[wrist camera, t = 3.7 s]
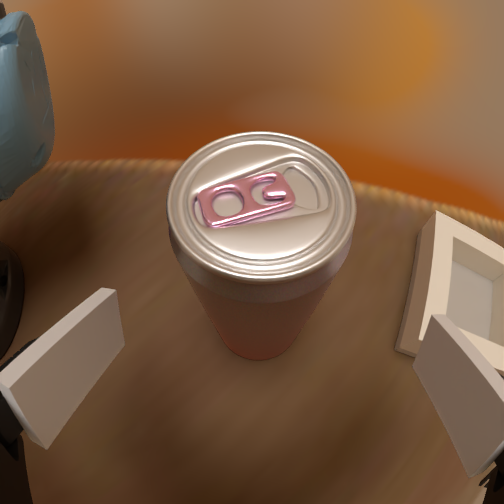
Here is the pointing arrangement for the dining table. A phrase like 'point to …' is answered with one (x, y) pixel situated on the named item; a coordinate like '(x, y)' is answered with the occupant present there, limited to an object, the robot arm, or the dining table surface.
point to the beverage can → (260, 234)
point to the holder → (456, 288)
